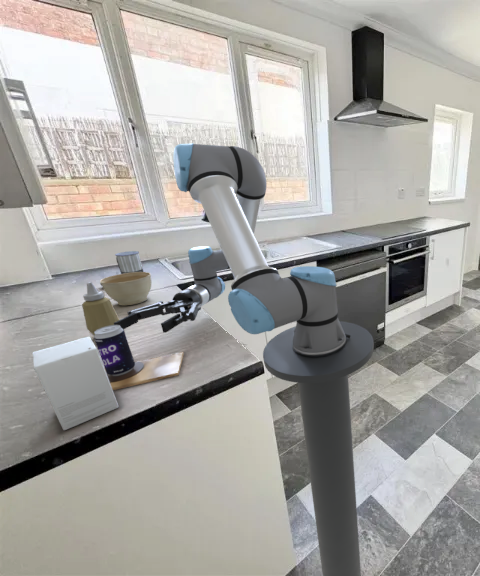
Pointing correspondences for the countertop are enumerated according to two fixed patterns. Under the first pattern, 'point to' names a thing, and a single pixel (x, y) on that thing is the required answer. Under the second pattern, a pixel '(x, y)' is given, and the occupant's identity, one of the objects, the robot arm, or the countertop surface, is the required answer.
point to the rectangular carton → (74, 381)
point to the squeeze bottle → (98, 309)
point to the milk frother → (129, 262)
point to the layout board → (148, 371)
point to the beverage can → (114, 350)
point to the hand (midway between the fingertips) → (139, 327)
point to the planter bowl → (128, 287)
